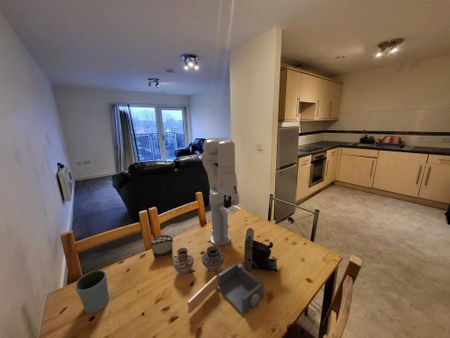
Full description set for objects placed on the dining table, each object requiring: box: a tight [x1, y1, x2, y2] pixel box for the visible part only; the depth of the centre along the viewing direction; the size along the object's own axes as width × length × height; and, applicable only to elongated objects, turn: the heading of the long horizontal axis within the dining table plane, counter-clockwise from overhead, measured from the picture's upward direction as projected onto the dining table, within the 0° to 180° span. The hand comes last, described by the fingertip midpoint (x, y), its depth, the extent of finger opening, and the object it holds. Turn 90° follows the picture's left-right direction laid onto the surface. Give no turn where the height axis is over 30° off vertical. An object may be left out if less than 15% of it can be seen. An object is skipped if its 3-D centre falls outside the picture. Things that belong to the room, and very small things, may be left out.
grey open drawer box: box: [216, 262, 264, 316], centre depth 80 cm, size 18×12×7 cm
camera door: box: [187, 275, 219, 314], centre depth 78 cm, size 16×2×5 cm, turn 141°
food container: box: [149, 234, 175, 260], centre depth 106 cm, size 12×6×10 cm, turn 108°
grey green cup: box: [74, 269, 110, 314], centre depth 77 cm, size 10×10×12 cm
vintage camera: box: [243, 227, 278, 274], centre depth 92 cm, size 10×16×20 cm, turn 78°
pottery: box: [172, 245, 226, 277], centre depth 93 cm, size 11×25×12 cm, turn 99°
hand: (227, 207), depth 89 cm, fingers closed
